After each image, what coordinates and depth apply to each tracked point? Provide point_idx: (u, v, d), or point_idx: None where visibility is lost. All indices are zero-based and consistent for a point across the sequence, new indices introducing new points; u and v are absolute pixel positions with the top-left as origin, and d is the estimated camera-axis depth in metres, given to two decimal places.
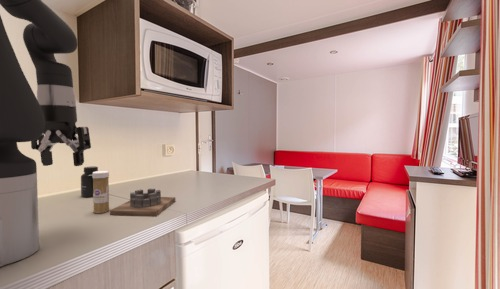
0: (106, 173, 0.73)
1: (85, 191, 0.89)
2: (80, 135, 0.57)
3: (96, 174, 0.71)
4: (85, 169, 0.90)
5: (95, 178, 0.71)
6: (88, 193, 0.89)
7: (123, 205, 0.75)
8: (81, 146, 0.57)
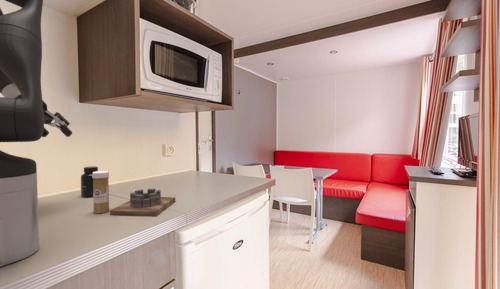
0: (106, 173, 0.73)
1: (85, 191, 0.89)
2: (61, 116, 0.80)
3: (96, 174, 0.71)
4: (85, 169, 0.90)
5: (95, 178, 0.71)
6: (88, 193, 0.89)
7: (123, 205, 0.75)
8: (67, 122, 0.80)
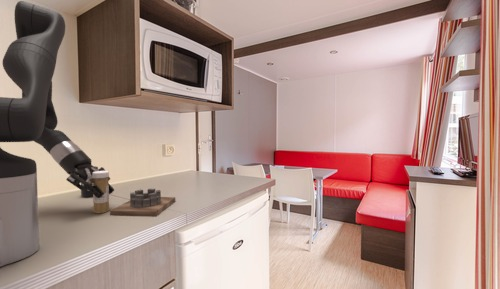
0: (106, 173, 0.73)
1: (85, 191, 0.89)
2: None
3: (96, 174, 0.71)
4: None
5: (95, 178, 0.71)
6: (88, 193, 0.89)
7: (123, 205, 0.75)
8: None
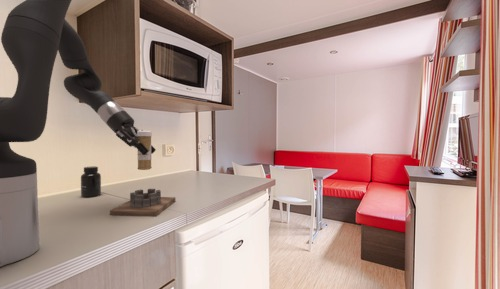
0: (150, 132, 0.76)
1: (85, 191, 0.89)
2: None
3: (141, 132, 0.74)
4: (85, 169, 0.90)
5: (140, 136, 0.75)
6: (88, 193, 0.89)
7: (123, 205, 0.75)
8: None
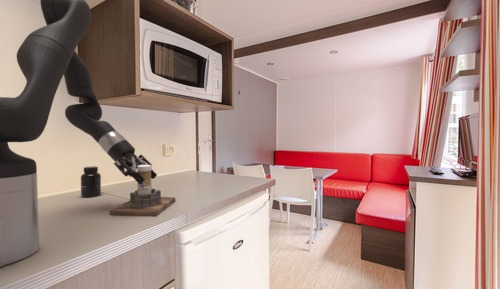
0: (150, 167, 0.77)
1: (85, 191, 0.89)
2: (145, 158, 0.84)
3: (141, 167, 0.75)
4: (85, 169, 0.90)
5: (140, 171, 0.75)
6: (88, 193, 0.89)
7: (123, 205, 0.75)
8: (150, 163, 0.84)
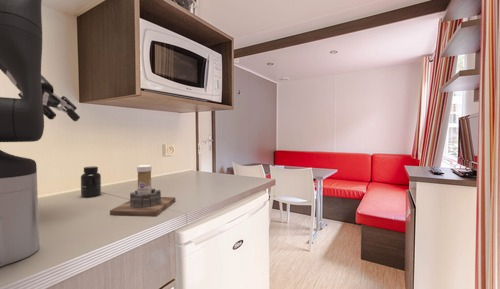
0: (150, 167, 0.77)
1: (85, 191, 0.89)
2: (68, 100, 0.76)
3: (141, 168, 0.75)
4: (85, 169, 0.90)
5: (140, 171, 0.75)
6: (88, 193, 0.89)
7: (123, 205, 0.75)
8: (74, 106, 0.76)
